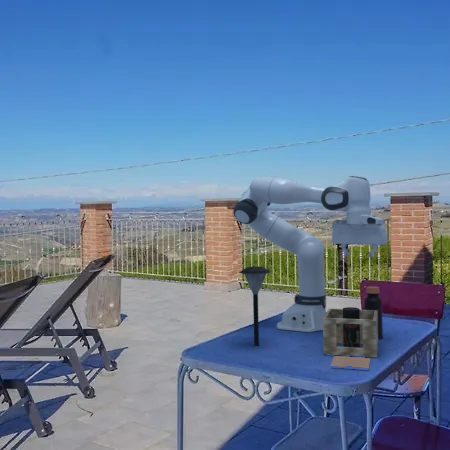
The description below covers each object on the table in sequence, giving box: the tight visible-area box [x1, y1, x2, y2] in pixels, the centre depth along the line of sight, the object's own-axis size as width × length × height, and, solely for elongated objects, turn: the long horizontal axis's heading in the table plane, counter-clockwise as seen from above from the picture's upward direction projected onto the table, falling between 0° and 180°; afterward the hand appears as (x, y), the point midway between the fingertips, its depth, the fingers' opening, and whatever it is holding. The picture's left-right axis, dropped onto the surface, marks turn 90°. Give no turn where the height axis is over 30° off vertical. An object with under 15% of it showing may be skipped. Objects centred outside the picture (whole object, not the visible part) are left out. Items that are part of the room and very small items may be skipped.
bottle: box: [363, 285, 384, 340], centre depth 206 cm, size 7×7×20 cm
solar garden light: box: [238, 266, 272, 347], centre depth 197 cm, size 12×12×30 cm
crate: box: [322, 308, 379, 358], centre depth 189 cm, size 18×18×13 cm
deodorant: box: [342, 306, 361, 348], centre depth 189 cm, size 6×6×15 cm
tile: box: [329, 355, 371, 370], centre depth 172 cm, size 12×12×1 cm
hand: (358, 256), depth 194 cm, fingers open, 8 cm apart
